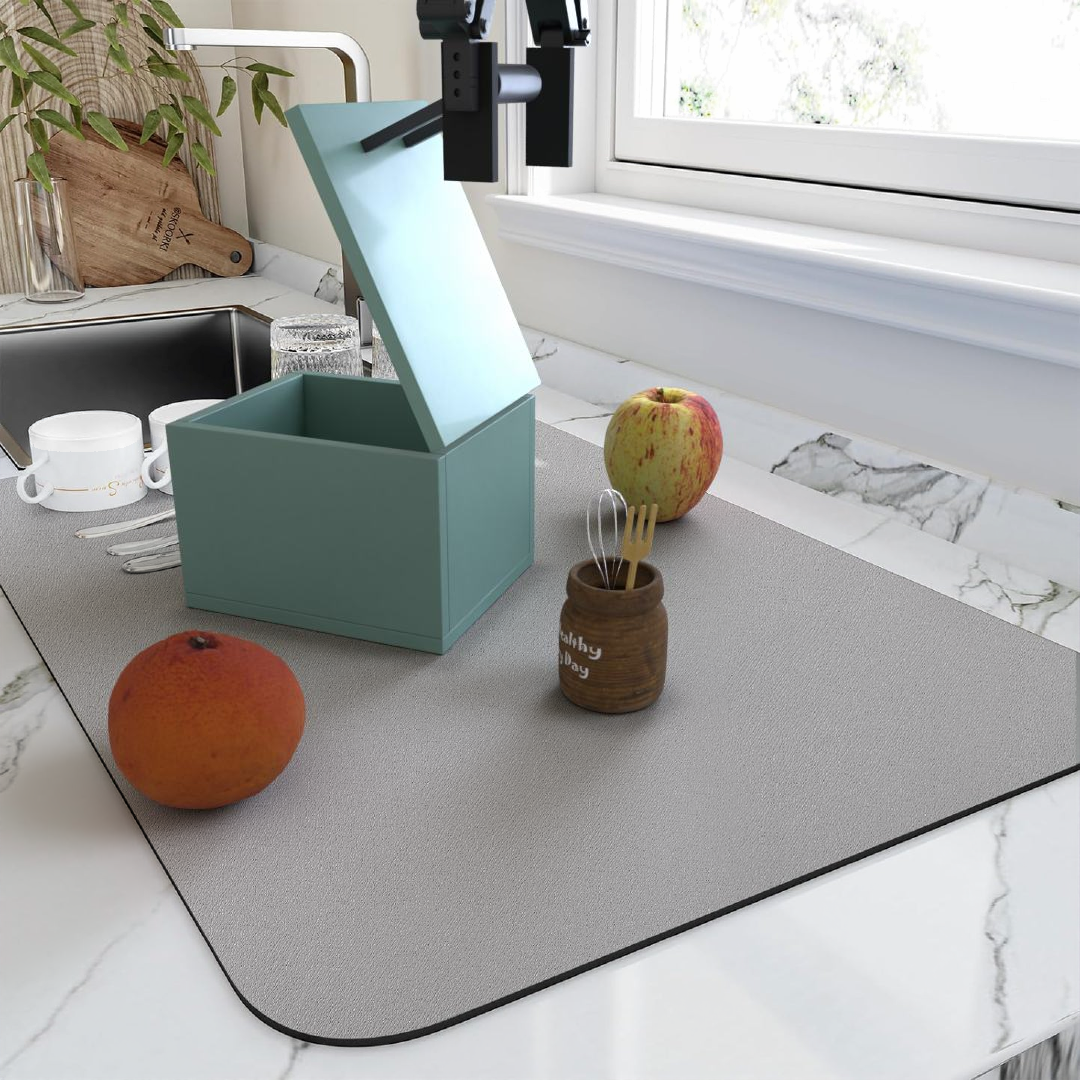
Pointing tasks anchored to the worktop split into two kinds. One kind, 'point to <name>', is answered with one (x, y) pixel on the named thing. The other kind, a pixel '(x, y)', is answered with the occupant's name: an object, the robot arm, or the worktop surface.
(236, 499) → the teal storage box
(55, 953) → the worktop surface
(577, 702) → the utensil holder
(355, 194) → the lid
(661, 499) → the apple
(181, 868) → the worktop surface
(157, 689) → the fruit
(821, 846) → the worktop surface
